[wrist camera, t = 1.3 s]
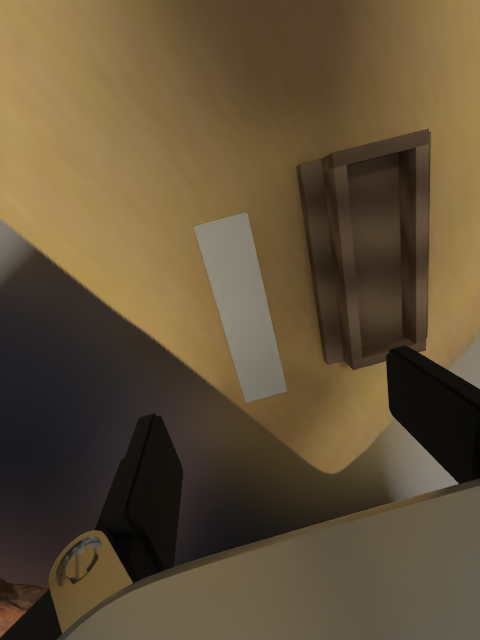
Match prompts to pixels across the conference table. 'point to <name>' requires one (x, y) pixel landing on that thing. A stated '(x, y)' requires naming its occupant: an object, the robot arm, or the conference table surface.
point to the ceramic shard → (16, 602)
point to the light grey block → (242, 304)
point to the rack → (369, 247)
